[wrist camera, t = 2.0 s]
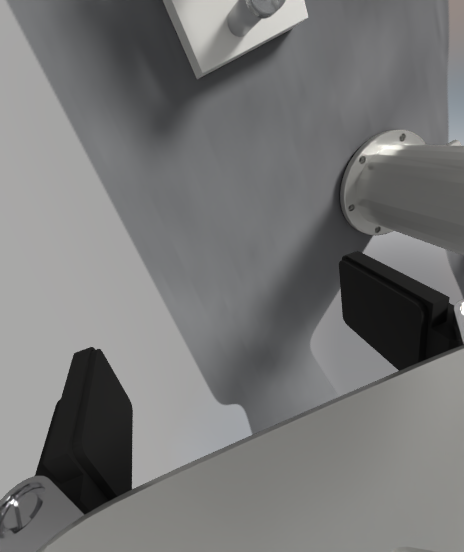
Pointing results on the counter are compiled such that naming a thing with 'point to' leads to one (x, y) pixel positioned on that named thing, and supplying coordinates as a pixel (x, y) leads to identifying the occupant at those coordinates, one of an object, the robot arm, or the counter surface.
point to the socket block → (226, 29)
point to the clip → (264, 7)
